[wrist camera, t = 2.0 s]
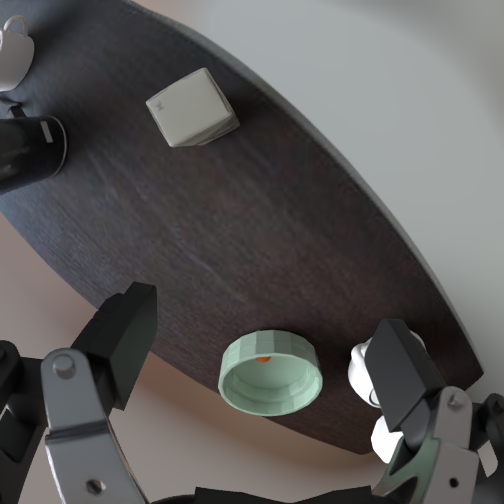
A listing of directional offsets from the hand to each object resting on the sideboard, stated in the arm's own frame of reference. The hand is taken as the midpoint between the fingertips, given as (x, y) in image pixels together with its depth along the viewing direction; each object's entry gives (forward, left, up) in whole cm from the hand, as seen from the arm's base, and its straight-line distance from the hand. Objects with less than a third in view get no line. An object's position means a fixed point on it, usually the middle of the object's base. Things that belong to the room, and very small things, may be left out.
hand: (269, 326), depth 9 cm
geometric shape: (+49, -26, -25) cm, 61 cm away
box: (-9, +5, -25) cm, 27 cm away
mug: (-46, +5, -25) cm, 52 cm away
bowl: (+14, -23, -25) cm, 37 cm away
